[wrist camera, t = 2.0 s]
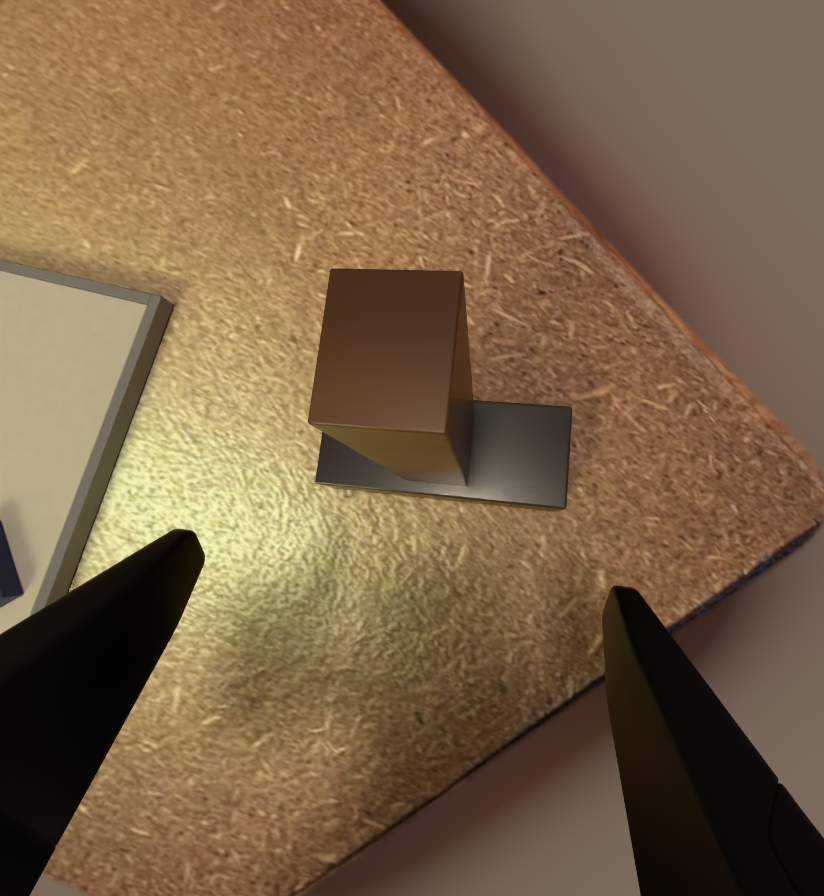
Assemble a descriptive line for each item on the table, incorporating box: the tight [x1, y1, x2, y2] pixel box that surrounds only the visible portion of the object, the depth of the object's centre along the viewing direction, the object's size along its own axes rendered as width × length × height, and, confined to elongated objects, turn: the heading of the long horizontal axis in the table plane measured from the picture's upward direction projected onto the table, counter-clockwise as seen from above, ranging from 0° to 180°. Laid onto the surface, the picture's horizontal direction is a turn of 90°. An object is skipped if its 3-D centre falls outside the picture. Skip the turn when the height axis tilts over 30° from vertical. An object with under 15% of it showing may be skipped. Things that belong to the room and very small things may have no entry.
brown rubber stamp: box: [308, 269, 572, 511], centre depth 15 cm, size 4×10×13 cm, turn 84°
